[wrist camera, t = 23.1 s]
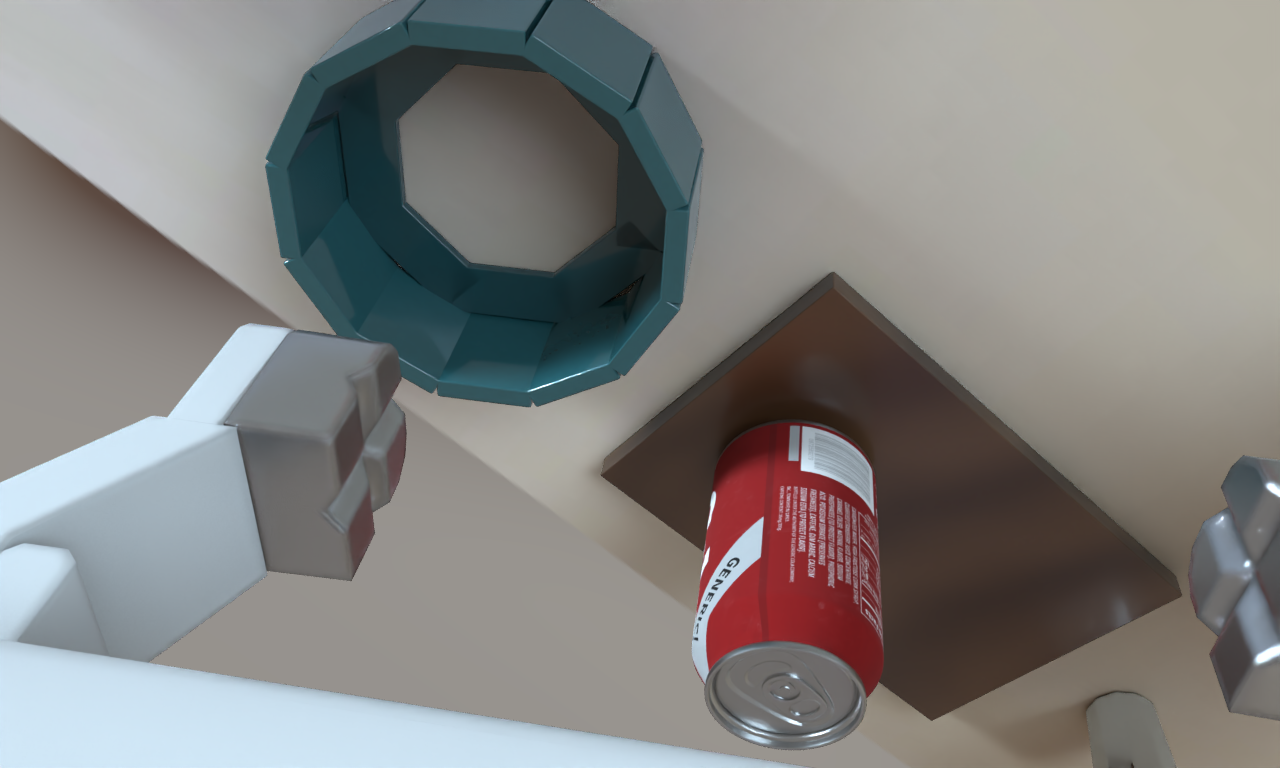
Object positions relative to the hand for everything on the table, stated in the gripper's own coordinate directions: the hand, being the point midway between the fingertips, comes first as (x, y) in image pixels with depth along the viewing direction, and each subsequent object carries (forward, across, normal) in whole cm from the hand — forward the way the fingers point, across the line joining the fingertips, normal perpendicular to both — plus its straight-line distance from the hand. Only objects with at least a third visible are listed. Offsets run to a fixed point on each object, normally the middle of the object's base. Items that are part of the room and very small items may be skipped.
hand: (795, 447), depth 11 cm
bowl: (+29, +10, +12) cm, 33 cm away
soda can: (+28, -2, +24) cm, 37 cm away
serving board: (+29, -7, +27) cm, 40 cm away
